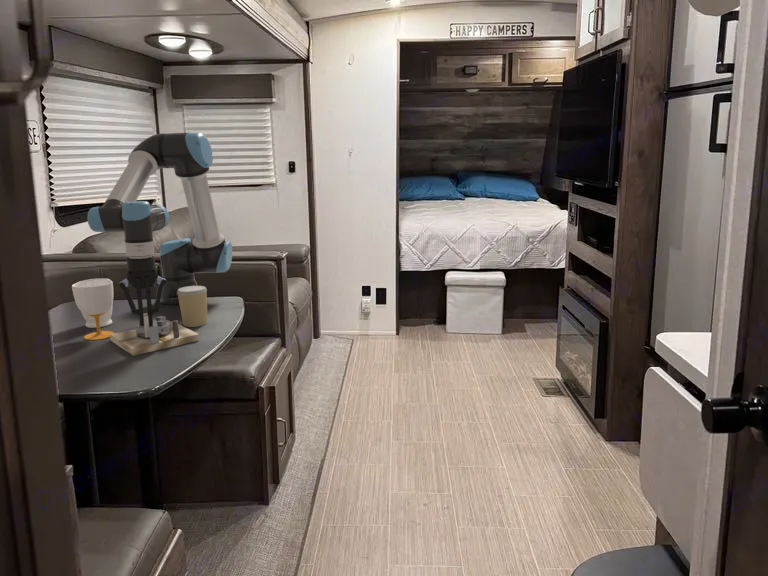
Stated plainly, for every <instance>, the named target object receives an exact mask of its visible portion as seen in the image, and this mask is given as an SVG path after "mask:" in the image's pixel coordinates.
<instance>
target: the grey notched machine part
mask: <svg viewBox="0 0 768 576" xmlns="http://www.w3.org/2000/svg"><path fill="white" fill-rule="evenodd" d="M170 322H171V321H170V320H168V319H166V315H165V316H162V315H160V316H156V317H155V319H153V325H149V333H150V337H147V338H150V342H151V344H154V343H159V337H161V336H165V335H167V334H169V333H171V325H170ZM135 329H136V335H137V337H139V338H145V327H144V326H141V325H140V319H138V323H136V324H135Z"/></svg>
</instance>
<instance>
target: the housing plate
mask: <svg viewBox="0 0 768 576" xmlns="http://www.w3.org/2000/svg"><path fill="white" fill-rule="evenodd" d="M170 325H171V333H169V334H167V335H165V336H161V337H159V343H154V344H151V342H150V338H139V337H137V335H136V328H134V329H129V330H125V331H120V332H116V333H115V332H114V334H110V337H109V339H110V341H111V342H112V343H114V344H115V345H116V346H118V347H120V348H122V350H124V351H125V352H127V353H129V355H131V356H132V357H133V356H139V355H141V354H142V355H143V354H146V353H151V352H155V351H159V350H160V351H161V350H164V349H168V348H172V347H177V346H181V345H185V344H190V343H193V342H198V341H200V334H199V333H198V332H196V331H193V330H192V329H189V328H188V327H186V326H184V325H181V324H179V320H172V321H170Z"/></svg>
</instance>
